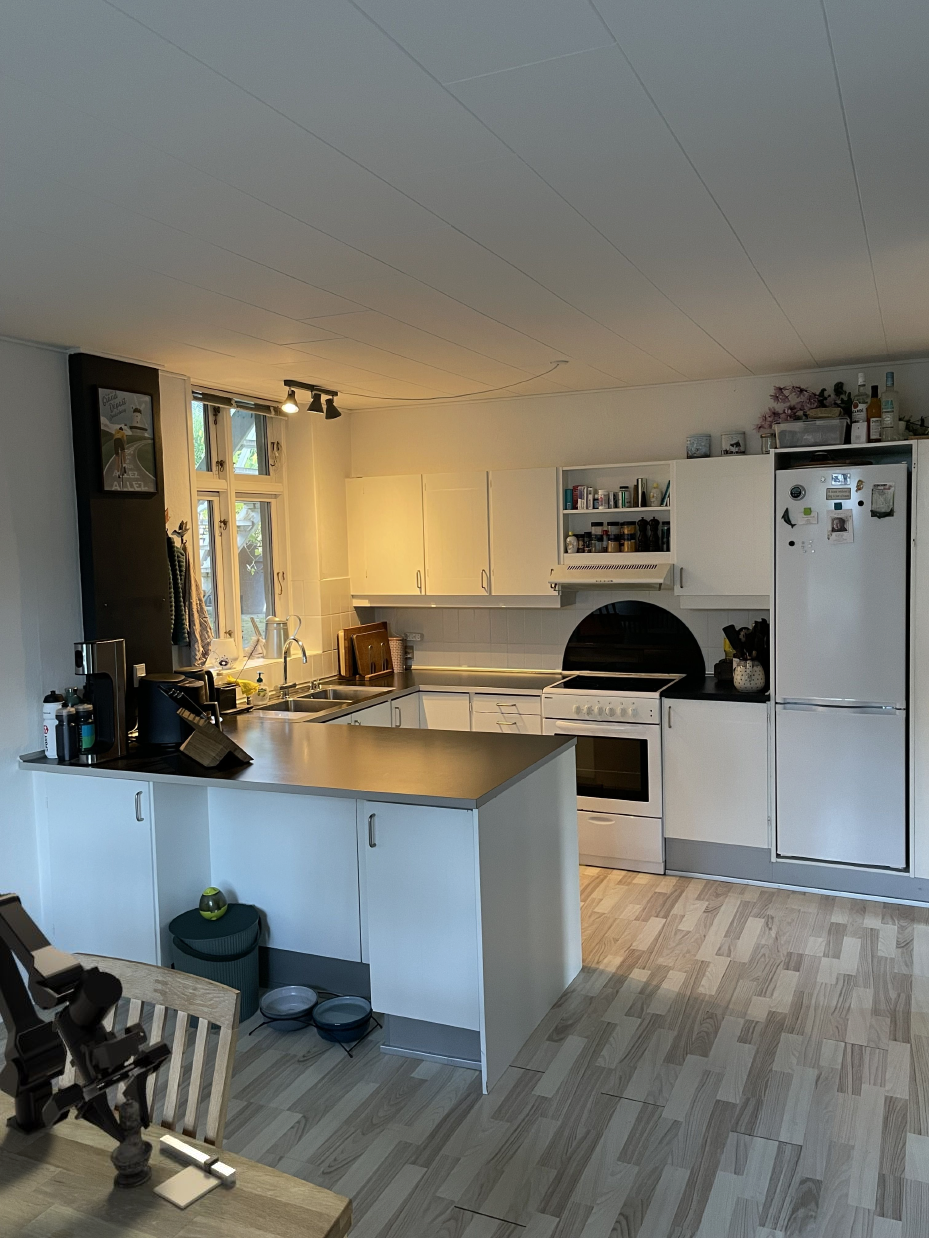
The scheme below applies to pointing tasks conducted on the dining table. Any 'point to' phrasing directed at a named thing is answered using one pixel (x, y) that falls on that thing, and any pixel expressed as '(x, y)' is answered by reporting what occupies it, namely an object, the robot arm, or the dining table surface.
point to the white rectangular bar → (198, 1159)
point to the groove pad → (187, 1186)
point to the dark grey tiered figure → (131, 1148)
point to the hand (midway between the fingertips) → (135, 1134)
